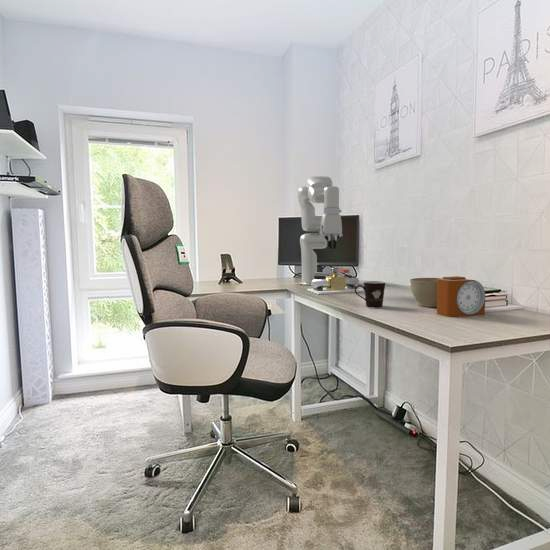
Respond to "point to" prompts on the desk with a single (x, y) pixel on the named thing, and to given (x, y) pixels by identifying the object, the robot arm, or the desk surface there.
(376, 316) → the desk surface
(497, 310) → the desk surface
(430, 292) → the planter bowl
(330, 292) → the board
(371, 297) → the coffee mug
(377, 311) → the desk surface
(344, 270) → the valve lever
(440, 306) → the alarm clock
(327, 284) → the valve pipe
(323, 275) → the electrical switch
